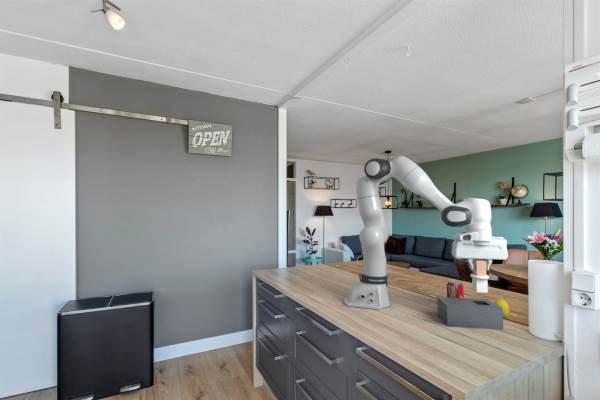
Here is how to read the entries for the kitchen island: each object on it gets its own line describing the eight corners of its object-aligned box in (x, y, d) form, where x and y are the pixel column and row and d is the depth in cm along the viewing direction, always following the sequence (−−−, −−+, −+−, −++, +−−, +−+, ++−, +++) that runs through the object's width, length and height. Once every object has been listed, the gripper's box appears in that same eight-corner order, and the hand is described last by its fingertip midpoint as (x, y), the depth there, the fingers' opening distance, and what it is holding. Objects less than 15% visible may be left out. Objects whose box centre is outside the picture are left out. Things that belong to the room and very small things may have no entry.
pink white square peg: (475, 292, 112) (474, 261, 113) (468, 288, 118) (467, 258, 119) (492, 293, 111) (491, 262, 112) (484, 289, 117) (483, 259, 118)
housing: (447, 326, 110) (447, 305, 111) (437, 315, 122) (437, 297, 123) (503, 329, 107) (502, 308, 108) (487, 318, 119) (487, 299, 119)
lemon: (505, 321, 115) (504, 301, 116) (491, 317, 120) (490, 298, 121) (512, 319, 118) (511, 299, 118) (498, 315, 123) (497, 296, 123)
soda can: (466, 310, 129) (465, 283, 130) (449, 309, 130) (449, 283, 131) (460, 305, 136) (460, 280, 136) (445, 304, 137) (444, 279, 138)
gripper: (502, 236, 117) (502, 269, 117) (449, 234, 120) (450, 267, 120) (511, 237, 111) (511, 272, 110) (455, 236, 114) (456, 270, 114)
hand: (479, 269), depth 115 cm, fingers closed on pink white square peg, 4 cm apart
